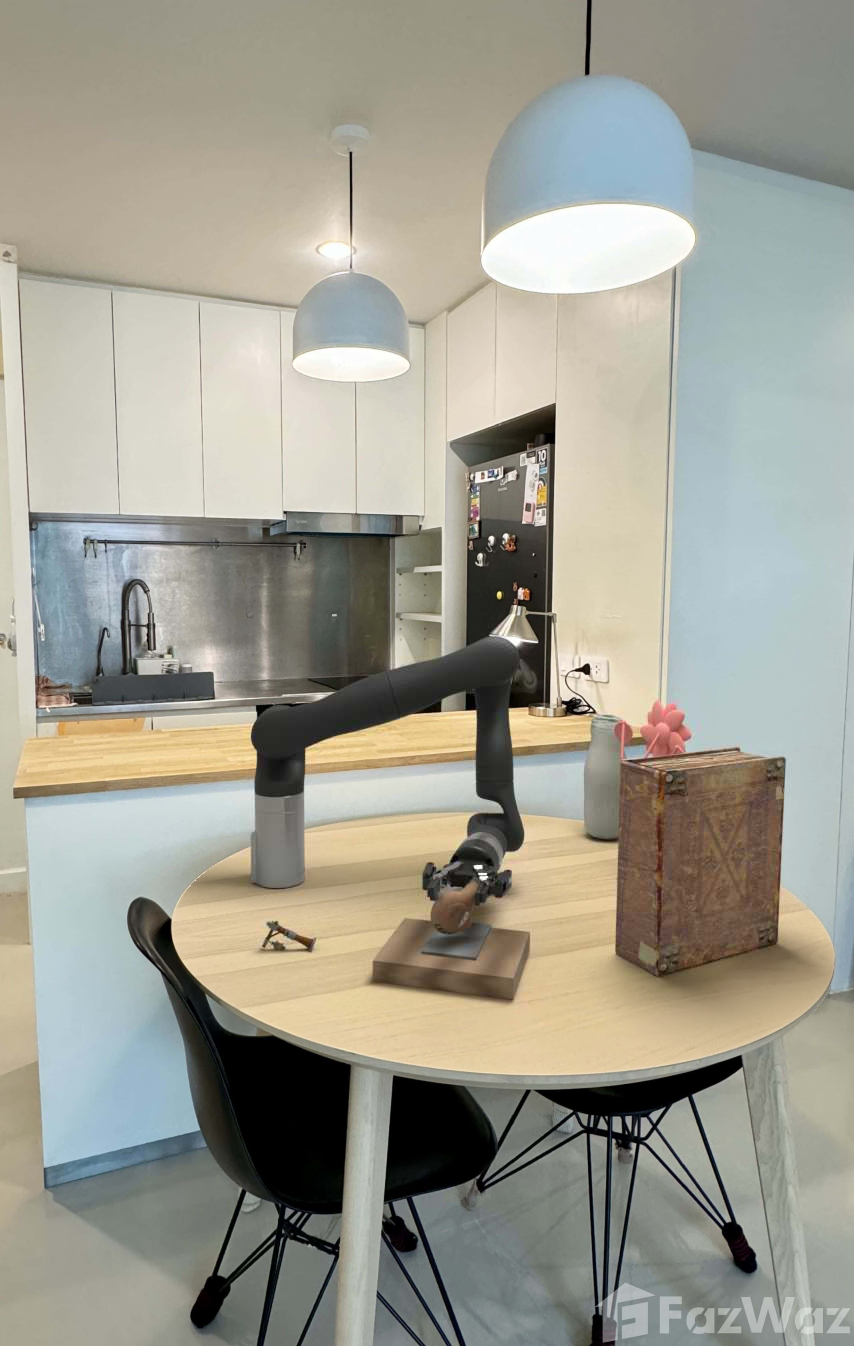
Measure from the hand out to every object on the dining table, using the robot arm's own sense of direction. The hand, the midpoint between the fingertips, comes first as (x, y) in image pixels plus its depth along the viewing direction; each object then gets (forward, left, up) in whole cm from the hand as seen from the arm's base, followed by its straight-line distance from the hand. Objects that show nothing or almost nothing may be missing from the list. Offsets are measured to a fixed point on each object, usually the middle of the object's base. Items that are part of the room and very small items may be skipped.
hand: (454, 896), depth 121 cm
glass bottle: (+18, +72, -11) cm, 75 cm away
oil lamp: (0, +2, -6) cm, 7 cm away
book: (+35, +16, -11) cm, 40 cm away
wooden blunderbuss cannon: (-26, -1, -11) cm, 28 cm away
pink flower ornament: (+30, +45, -11) cm, 55 cm away
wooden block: (0, 0, -10) cm, 11 cm away
